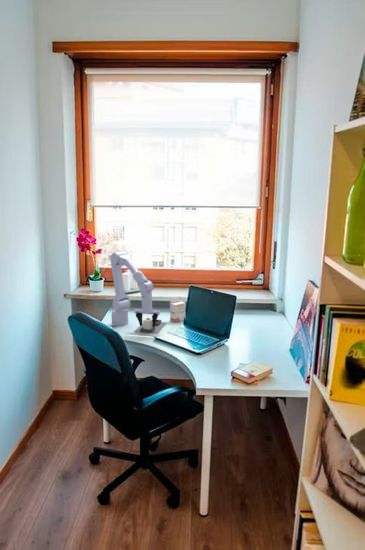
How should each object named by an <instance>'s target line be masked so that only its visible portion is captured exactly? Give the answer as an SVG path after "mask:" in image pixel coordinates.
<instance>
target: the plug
mask: <svg viewBox="0 0 365 550" xmlns="http://www.w3.org/2000/svg"><path fill="white" fill-rule="evenodd" d="M142 324H143V329H148V330H151V329H152V318H151V317H146V318H145V319H144V320H142Z"/></svg>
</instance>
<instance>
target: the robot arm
mask: <svg viewBox="0 0 365 550" xmlns="http://www.w3.org/2000/svg"><path fill="white" fill-rule="evenodd" d="M131 257H132V256H131V254H130V252H129V251H128V250H123V251H117V252H115V251H114V252H112V253H111V255H110V257H109V258H110V266H111V267H110V268H111V272H112V281H113V285H114V293H115V295H114V296H113V298H112V308H113V310H112V311H111V326H113V327H118V326H126V325H128V324H129V310H130V307H131V306H132V304H131V300H130V298H129V295H128V294H126V293H125V286H124V285H125V284H124V280H123V272H122V267H123V266H125V267H126V268H127V269H128V270H129V271H130V273H131V274H132V278H133V280H134V281H135V283H137V285H138V286H139V287H138V290H139V292H140V297H141V308H138V309H137V308H135V309H134V314H135V318H136V319H137V321H138V323H139V324H138V325H139V326H142V324H143V314H145V315H151V319H153V327H155V324H156V320H158V317H159V316H160V315H161V310H158V309H157V310H156V309H153V294H152V292H153V290H154V283H153V281H151V280H149V279H147V277H146V276H145V275H144V273H143V272H142V271H140V270H138V268H137V267H136V265H135V263H134V262H133V260H132V259H131Z"/></svg>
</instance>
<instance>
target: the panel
mask: <svg viewBox="0 0 365 550" xmlns="http://www.w3.org/2000/svg"><path fill="white" fill-rule="evenodd" d="M151 319H152V318H151ZM167 324H168V322H166V321H165V322H164V321H162V319H157V320H156V324H155V327H153V319H152V329H151V330H148V329H143V323H142V326H140V325H139V326H138V327H137V328H136V329H135V330H134V331H133V333H141V334H155V335H157V334H159V333H160V332H161V331H162V329H163V328H164V327H165V326H166V325H167Z"/></svg>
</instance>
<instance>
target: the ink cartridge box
mask: <svg viewBox="0 0 365 550" xmlns="http://www.w3.org/2000/svg"><path fill="white" fill-rule="evenodd" d="M181 297H182V296H176V297H171V298H170V302H169V308H170V309H169V320H170V322H173V323H179V322H183V321H185V320H184V315H185V316H186V311H185V309H186V302H185V301H182V300H181V299H182V298H181Z"/></svg>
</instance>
